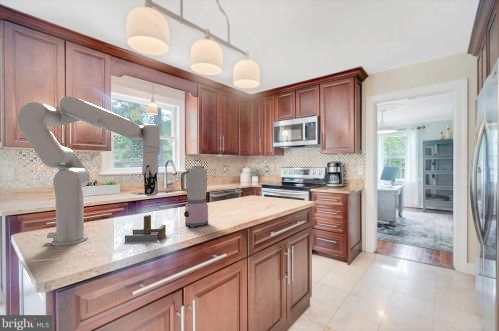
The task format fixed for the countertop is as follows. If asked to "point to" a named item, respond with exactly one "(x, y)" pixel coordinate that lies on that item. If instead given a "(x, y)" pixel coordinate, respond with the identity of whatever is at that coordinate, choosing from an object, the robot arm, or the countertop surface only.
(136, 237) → the channel
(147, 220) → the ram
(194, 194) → the blender
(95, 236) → the countertop surface
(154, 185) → the beverage can
